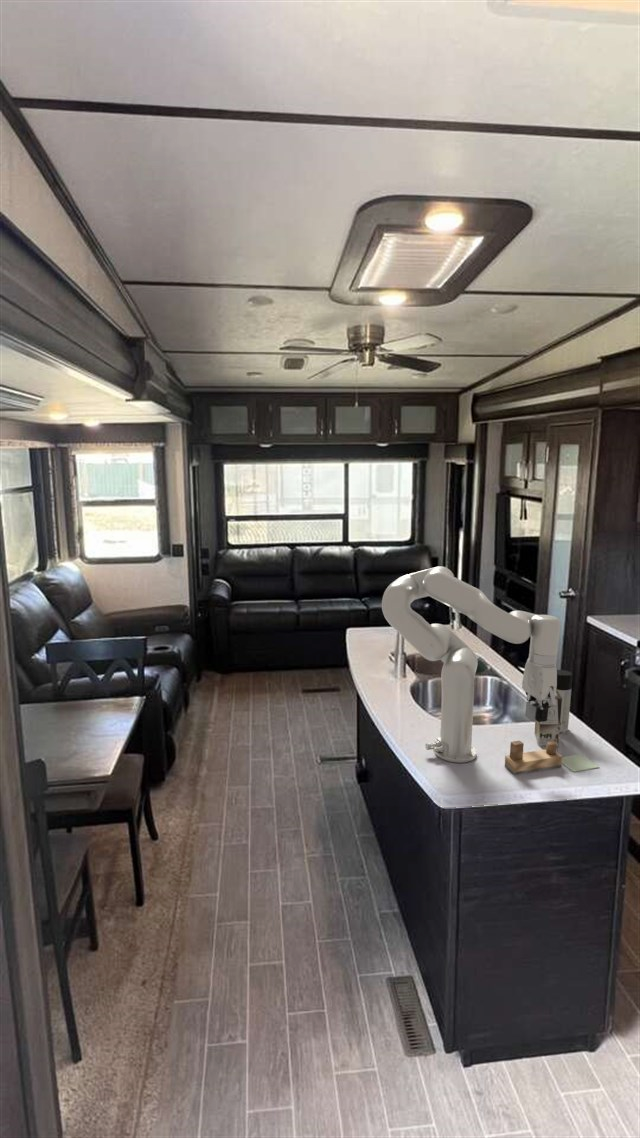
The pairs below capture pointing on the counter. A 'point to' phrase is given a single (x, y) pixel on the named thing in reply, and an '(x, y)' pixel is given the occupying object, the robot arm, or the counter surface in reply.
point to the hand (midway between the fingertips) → (536, 717)
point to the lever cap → (533, 710)
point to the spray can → (564, 697)
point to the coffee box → (550, 724)
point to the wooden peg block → (532, 758)
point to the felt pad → (578, 763)
